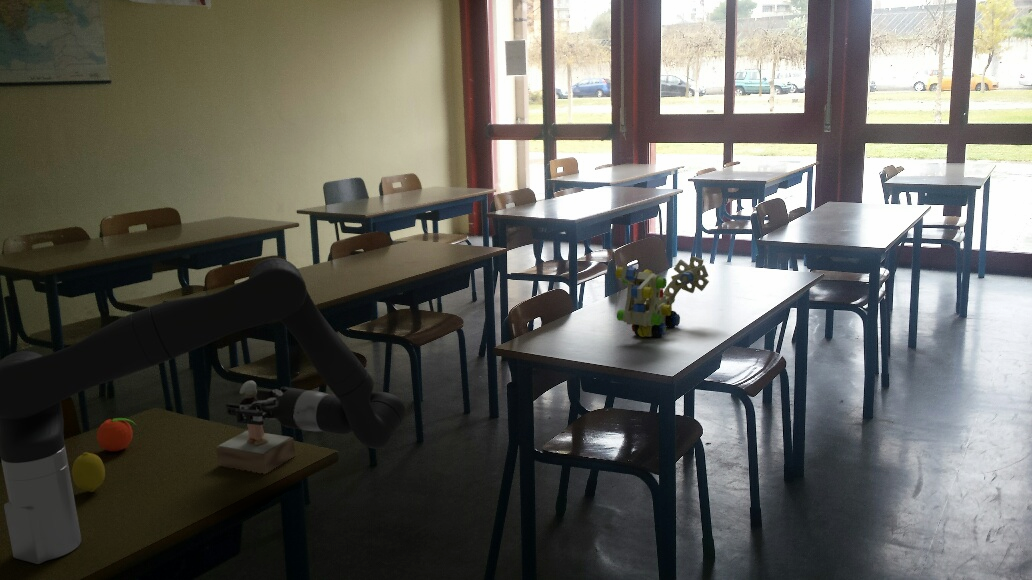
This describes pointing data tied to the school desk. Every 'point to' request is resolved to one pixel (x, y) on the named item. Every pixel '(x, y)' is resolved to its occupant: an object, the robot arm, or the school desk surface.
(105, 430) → the clementine
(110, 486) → the school desk surface
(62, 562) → the school desk surface
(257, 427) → the grandmother figurine
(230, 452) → the plinth
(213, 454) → the school desk surface
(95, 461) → the lemon
